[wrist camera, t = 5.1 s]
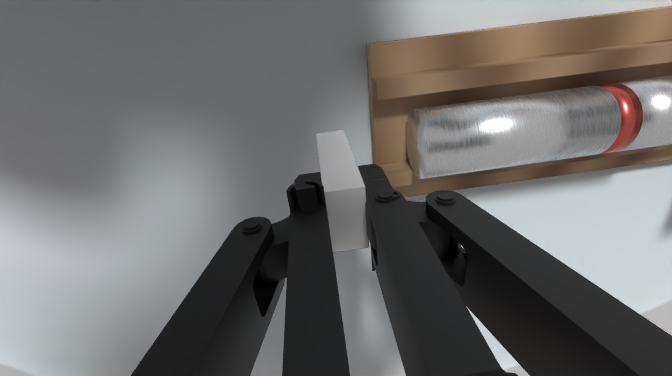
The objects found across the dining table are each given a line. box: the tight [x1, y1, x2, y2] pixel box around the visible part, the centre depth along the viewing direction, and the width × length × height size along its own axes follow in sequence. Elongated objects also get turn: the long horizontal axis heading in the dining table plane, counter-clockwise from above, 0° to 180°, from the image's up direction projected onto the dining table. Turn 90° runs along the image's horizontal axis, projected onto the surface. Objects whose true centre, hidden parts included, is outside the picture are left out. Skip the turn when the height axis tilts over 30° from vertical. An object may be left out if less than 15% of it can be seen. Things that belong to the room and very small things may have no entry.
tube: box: [406, 75, 672, 179], centre depth 19 cm, size 16×4×4 cm, turn 96°
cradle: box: [367, 6, 672, 197], centre depth 21 cm, size 38×10×2 cm, turn 96°
